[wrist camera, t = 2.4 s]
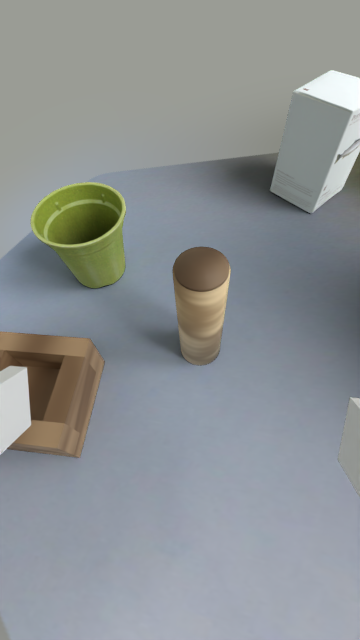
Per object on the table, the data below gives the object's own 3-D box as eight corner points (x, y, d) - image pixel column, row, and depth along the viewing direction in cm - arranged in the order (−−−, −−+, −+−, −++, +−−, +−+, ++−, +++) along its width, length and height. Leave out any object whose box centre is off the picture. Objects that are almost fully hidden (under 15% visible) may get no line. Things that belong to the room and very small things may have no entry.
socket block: (104, 361, 31) (90, 338, 27) (79, 457, 26) (57, 448, 22) (21, 354, 32) (-6, 331, 28) (-17, 446, 27) (-57, 434, 23)
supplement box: (311, 216, 41) (352, 111, 30) (268, 191, 44) (291, 88, 33) (343, 191, 43) (392, 85, 32) (299, 169, 46) (331, 66, 35)
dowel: (220, 331, 32) (231, 247, 22) (218, 367, 30) (230, 292, 20) (182, 329, 33) (175, 244, 22) (178, 363, 31) (168, 288, 20)
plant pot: (152, 253, 39) (142, 193, 31) (114, 311, 34) (92, 257, 27) (90, 234, 41) (67, 174, 34) (47, 286, 37) (10, 230, 29)
